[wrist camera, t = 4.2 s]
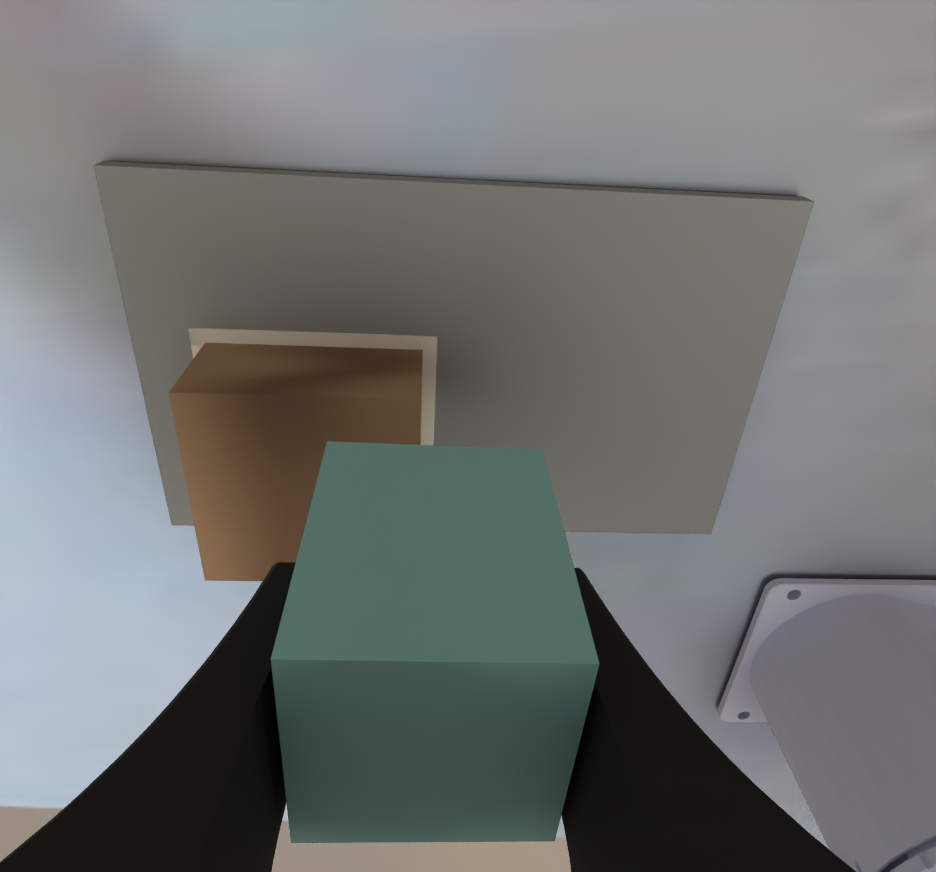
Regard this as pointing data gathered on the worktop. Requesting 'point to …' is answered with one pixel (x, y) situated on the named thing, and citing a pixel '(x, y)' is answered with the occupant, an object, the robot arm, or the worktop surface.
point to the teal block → (431, 650)
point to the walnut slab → (279, 438)
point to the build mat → (479, 312)
